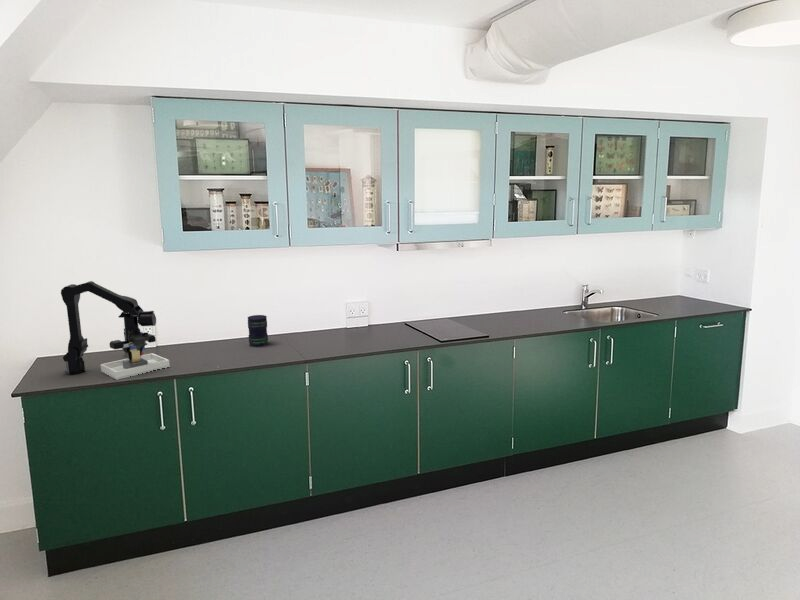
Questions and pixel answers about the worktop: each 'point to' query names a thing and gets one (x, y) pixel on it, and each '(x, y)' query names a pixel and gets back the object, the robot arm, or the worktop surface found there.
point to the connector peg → (135, 356)
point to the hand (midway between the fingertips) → (134, 359)
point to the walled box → (134, 366)
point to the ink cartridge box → (135, 346)
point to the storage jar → (257, 331)
